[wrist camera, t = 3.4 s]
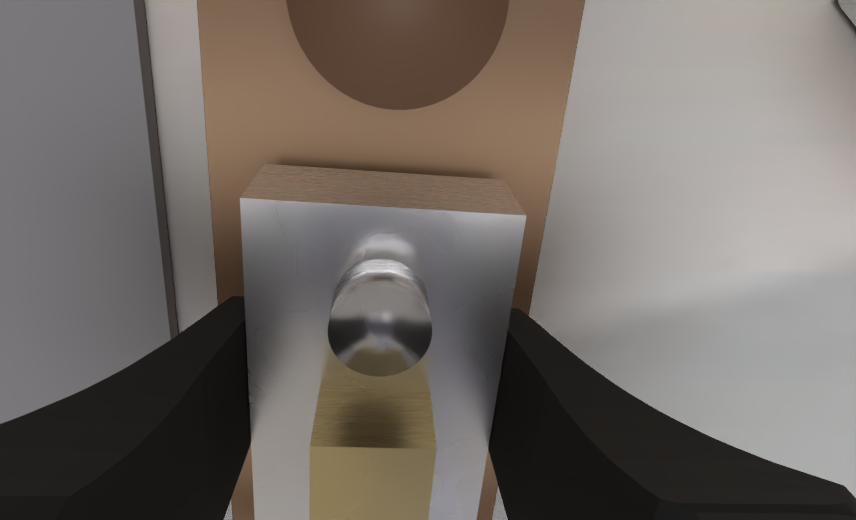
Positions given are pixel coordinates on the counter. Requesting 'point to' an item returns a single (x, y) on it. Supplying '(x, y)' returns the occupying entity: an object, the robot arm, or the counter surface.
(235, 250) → the body
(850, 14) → the skincare box
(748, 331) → the counter surface
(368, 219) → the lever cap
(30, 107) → the mat
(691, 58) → the counter surface
